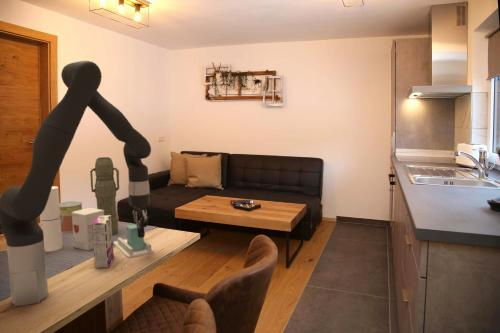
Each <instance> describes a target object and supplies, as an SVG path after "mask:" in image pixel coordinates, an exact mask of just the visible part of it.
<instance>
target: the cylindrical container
mask: <svg viewBox="0 0 500 333" xmlns="http://www.w3.org/2000/svg"><path fill="white" fill-rule="evenodd" d="M59 197H60V195H59V187H58V186H52V189H51V192H50V195H49V198H48V201H47V204H46V207H45V209H44V211H43V212H42V214H41V215H40V216H39V223H40V224H39V225H40V227H41V229H42V230H43V235H44V247H45V253H47V252H48V253H49V252H56V251H60V250H62V249H63V237H62V236H63V235H62V234H63V232H61V220H60V206H59V203H60V198H59Z"/></svg>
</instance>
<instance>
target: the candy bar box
mask: <svg viewBox="0 0 500 333" xmlns="http://www.w3.org/2000/svg"><path fill="white" fill-rule="evenodd" d="M92 233H93V245H94V249H93V254H94V255H93V257H94V258H93V259H94V269H104V268H107V269H108V268H109V267H110V266H111V263H112V261H113V259H114V256H115V255H114V244H113V242H114V241H113V240H114V239H113V236H112V223H111V215H103V216H102V215H101V216H98V217H97V218H96V220H95V221H94V222H93V224H92Z"/></svg>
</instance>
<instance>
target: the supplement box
mask: <svg viewBox="0 0 500 333" xmlns="http://www.w3.org/2000/svg"><path fill="white" fill-rule="evenodd" d="M101 215H102V216H103V215H104V210H100V209H97V208H94V207H86V208H82V210H78V211H74V212H72V225H73V231H72V237H73V248H77V249H80V250H84V251H91V250H94V245H93V233H92V224H93V222H94V221H95V220H96V218H97V217H98V216H101Z"/></svg>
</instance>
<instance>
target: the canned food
mask: <svg viewBox="0 0 500 333" xmlns="http://www.w3.org/2000/svg"><path fill="white" fill-rule="evenodd" d="M82 204H83V203H82V201H74V200H73V201H65V202H64V201H63V202H59V206H60V220H61V233H73V225H72V212H74V211H78V210H82V209H83V205H82Z"/></svg>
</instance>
